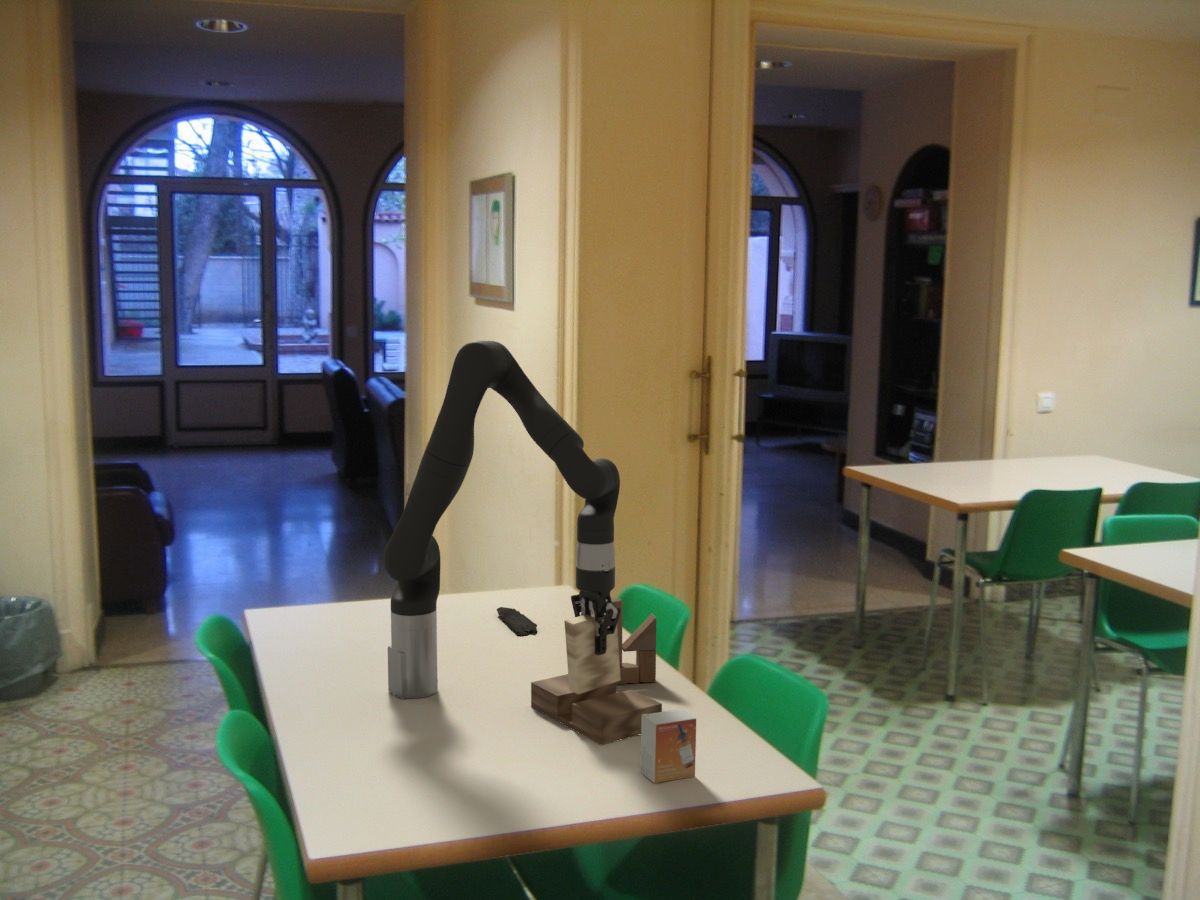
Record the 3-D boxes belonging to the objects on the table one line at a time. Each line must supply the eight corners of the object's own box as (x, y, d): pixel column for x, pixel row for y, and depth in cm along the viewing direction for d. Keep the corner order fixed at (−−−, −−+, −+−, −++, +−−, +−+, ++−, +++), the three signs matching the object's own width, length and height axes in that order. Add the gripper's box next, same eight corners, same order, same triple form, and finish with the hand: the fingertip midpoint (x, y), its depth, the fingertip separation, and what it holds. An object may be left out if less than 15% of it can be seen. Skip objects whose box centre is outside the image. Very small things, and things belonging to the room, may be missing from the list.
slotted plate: (601, 745, 216) (601, 718, 215) (531, 706, 235) (531, 682, 234) (661, 728, 224) (661, 703, 223) (589, 692, 243) (589, 669, 242)
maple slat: (578, 694, 225) (573, 624, 222) (569, 690, 227) (564, 620, 224) (620, 680, 230) (616, 611, 228) (611, 676, 233) (607, 608, 230)
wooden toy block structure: (656, 682, 250) (657, 599, 247) (606, 686, 247) (606, 602, 245) (651, 677, 253) (652, 595, 251) (602, 680, 251) (603, 597, 248)
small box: (654, 784, 199) (654, 724, 198) (639, 772, 204) (640, 713, 203) (696, 777, 202) (697, 718, 201) (681, 764, 207) (682, 707, 206)
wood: (547, 636, 284) (547, 624, 283) (517, 639, 281) (517, 626, 281) (520, 612, 304) (520, 600, 304) (492, 614, 302) (492, 603, 301)
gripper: (558, 559, 229) (558, 646, 231) (600, 574, 217) (600, 665, 220) (590, 554, 233) (590, 639, 235) (633, 568, 222) (632, 657, 224)
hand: (595, 651), depth 228 cm, fingers closed on maple slat, 3 cm apart
